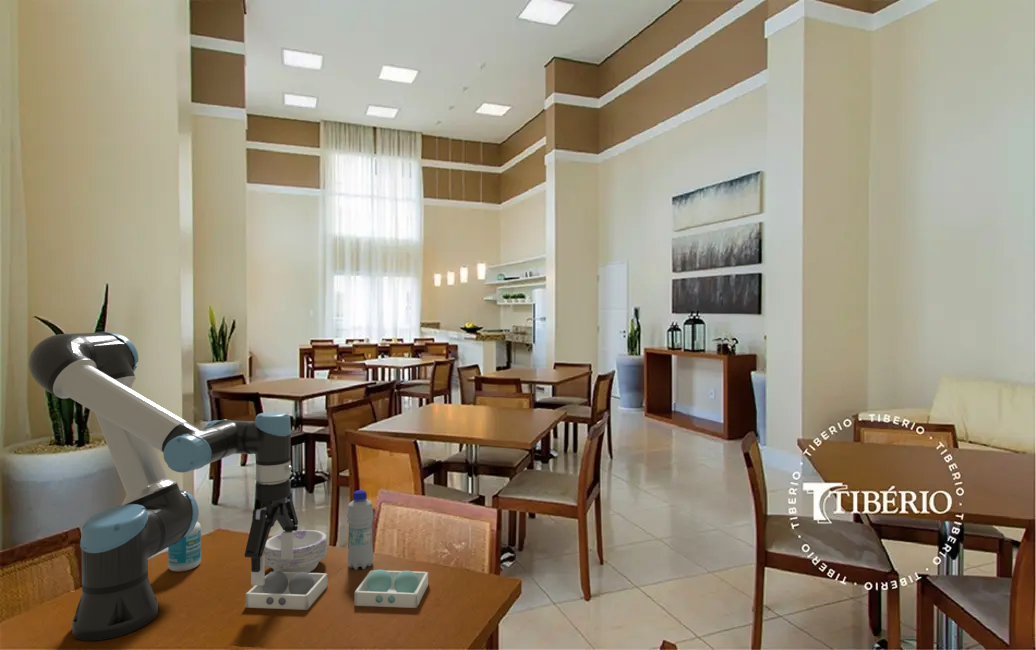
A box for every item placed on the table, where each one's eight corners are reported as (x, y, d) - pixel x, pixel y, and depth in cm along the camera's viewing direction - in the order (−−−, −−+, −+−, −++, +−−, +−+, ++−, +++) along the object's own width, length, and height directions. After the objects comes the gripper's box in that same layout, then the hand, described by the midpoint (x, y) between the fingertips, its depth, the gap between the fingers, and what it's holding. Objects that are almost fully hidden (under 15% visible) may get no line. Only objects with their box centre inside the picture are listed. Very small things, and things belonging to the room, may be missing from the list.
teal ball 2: (391, 600, 132) (391, 576, 132) (398, 588, 138) (397, 565, 138) (415, 601, 132) (414, 577, 132) (420, 589, 137) (420, 566, 137)
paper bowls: (304, 553, 160) (304, 524, 160) (339, 566, 151) (338, 536, 151) (251, 572, 148) (251, 541, 148) (285, 588, 139) (285, 555, 139)
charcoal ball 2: (284, 602, 132) (284, 578, 131) (295, 590, 137) (295, 567, 137) (307, 602, 131) (307, 578, 131) (318, 591, 137) (317, 568, 137)
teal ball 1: (363, 599, 133) (363, 575, 133) (371, 587, 138) (371, 565, 138) (387, 600, 132) (387, 576, 132) (394, 588, 138) (394, 565, 138)
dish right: (354, 608, 130) (354, 592, 130) (370, 584, 141) (370, 570, 141) (416, 610, 129) (416, 594, 129) (428, 586, 140) (428, 571, 140)
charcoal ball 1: (258, 601, 132) (257, 577, 132) (270, 589, 138) (269, 566, 137) (281, 601, 132) (280, 577, 132) (292, 590, 137) (292, 567, 137)
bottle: (366, 573, 147) (366, 495, 147) (342, 571, 148) (341, 493, 148) (378, 562, 154) (377, 487, 153) (355, 560, 155) (354, 485, 155)
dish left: (245, 610, 129) (244, 594, 129) (270, 585, 141) (270, 571, 140) (306, 612, 128) (306, 596, 128) (327, 587, 139) (327, 573, 139)
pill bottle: (190, 572, 148) (190, 520, 147) (161, 572, 148) (161, 520, 148) (206, 560, 155) (206, 510, 155) (179, 560, 155) (178, 510, 155)
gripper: (261, 497, 121) (260, 598, 122) (312, 466, 146) (312, 549, 147) (226, 496, 122) (226, 596, 122) (283, 465, 147) (283, 548, 147)
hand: (273, 571), depth 135 cm, fingers open, 13 cm apart
